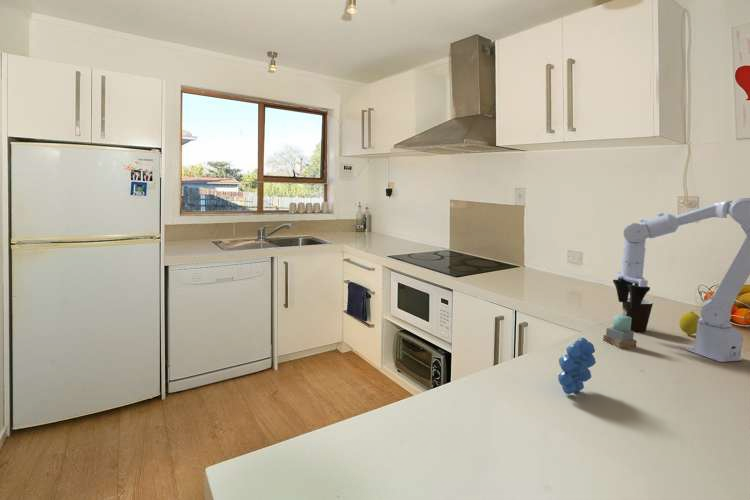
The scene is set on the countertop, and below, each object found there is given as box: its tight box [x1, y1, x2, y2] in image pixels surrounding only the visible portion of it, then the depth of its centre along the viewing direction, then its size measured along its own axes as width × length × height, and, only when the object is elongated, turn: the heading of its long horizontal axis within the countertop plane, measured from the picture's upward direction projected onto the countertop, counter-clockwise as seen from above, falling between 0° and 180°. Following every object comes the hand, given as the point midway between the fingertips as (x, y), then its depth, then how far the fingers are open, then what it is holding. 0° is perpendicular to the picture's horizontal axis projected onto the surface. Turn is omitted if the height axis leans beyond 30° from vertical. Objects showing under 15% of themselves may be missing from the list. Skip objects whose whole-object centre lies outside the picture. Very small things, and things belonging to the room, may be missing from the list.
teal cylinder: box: [612, 314, 632, 332], centre depth 118 cm, size 4×4×4 cm
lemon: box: [678, 311, 701, 336], centre depth 130 cm, size 6×6×8 cm
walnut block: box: [602, 334, 637, 349], centre depth 119 cm, size 6×6×2 cm
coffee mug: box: [621, 297, 654, 334], centre depth 135 cm, size 12×9×10 cm
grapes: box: [557, 337, 596, 395], centre depth 88 cm, size 12×7×12 cm, turn 123°
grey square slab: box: [605, 326, 635, 342], centre depth 119 cm, size 5×5×2 cm
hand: (628, 304), depth 125 cm, fingers open, 7 cm apart
